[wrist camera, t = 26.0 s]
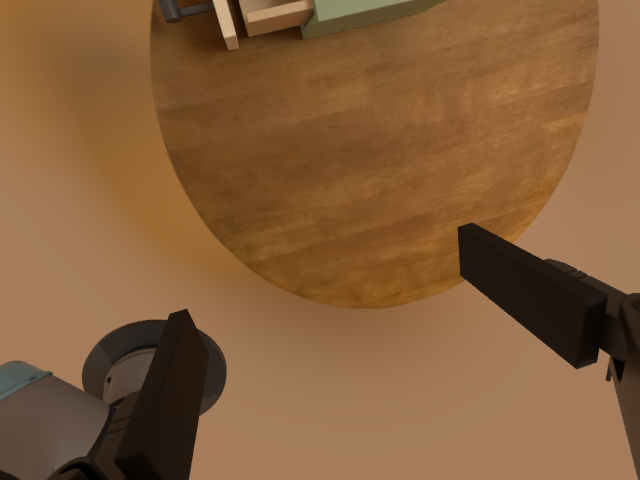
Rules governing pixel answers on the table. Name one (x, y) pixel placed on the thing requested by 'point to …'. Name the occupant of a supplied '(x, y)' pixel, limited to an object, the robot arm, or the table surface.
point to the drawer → (246, 15)
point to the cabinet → (358, 14)
